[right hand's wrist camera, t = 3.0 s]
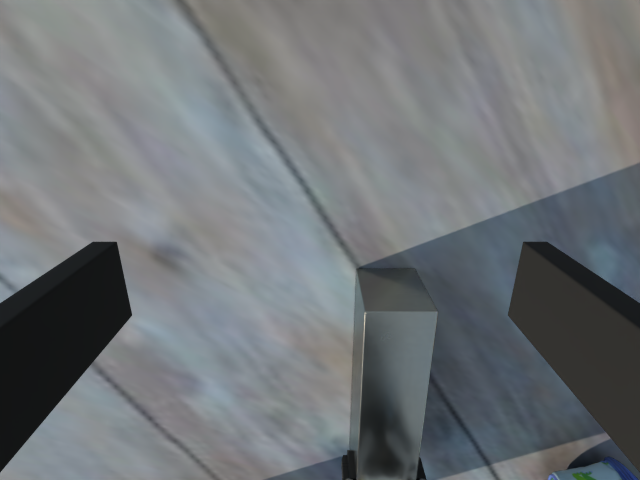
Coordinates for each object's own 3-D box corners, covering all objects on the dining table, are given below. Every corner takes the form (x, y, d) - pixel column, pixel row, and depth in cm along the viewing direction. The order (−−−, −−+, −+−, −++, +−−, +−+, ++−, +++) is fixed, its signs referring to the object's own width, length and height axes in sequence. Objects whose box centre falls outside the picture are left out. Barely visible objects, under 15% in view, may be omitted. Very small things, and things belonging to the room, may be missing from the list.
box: (356, 268, 40) (364, 311, 32) (415, 268, 40) (438, 311, 32) (349, 446, 50) (354, 514, 42) (397, 446, 50) (411, 514, 42)
